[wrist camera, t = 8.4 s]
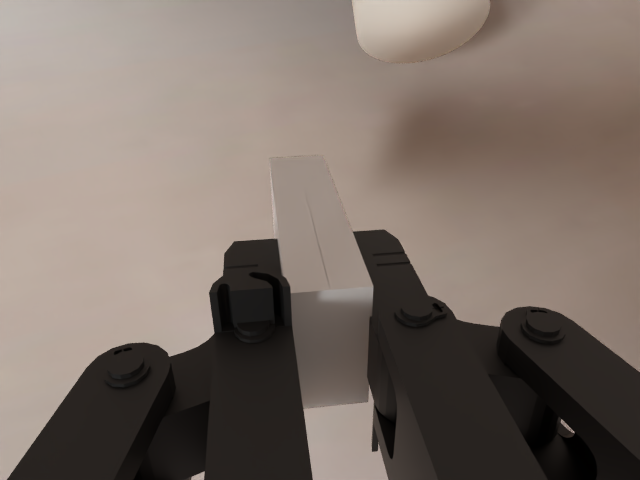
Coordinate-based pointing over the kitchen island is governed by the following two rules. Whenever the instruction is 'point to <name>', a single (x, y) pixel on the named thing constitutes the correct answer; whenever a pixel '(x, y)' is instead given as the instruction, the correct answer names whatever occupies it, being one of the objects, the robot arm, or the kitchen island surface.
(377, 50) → the knob
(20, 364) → the kitchen island surface
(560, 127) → the kitchen island surface
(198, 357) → the robot arm
